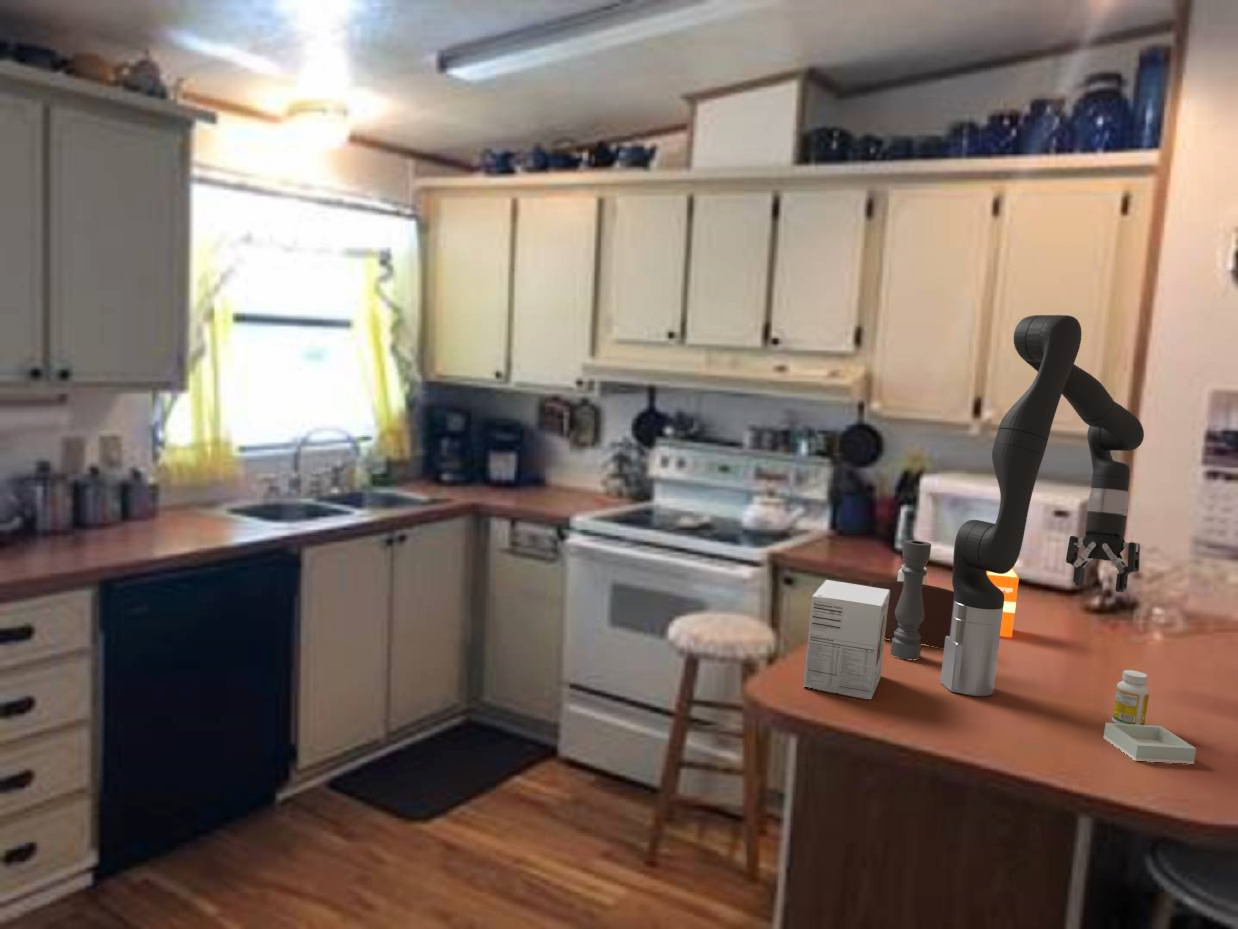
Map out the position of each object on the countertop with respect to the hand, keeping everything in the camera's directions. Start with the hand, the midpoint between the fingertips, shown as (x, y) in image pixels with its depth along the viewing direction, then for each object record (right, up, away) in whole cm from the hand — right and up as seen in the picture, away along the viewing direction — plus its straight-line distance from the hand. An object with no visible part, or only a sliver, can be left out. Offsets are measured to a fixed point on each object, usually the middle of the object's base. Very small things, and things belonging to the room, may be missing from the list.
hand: (1099, 588), depth 210 cm
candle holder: (-38, -16, +8) cm, 42 cm away
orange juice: (-10, -15, +35) cm, 39 cm away
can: (-26, -12, +48) cm, 56 cm away
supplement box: (-56, -17, -13) cm, 60 cm away
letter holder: (-33, -15, +23) cm, 43 cm away
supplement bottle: (-7, -22, -25) cm, 34 cm away
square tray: (-10, -23, -39) cm, 46 cm away
